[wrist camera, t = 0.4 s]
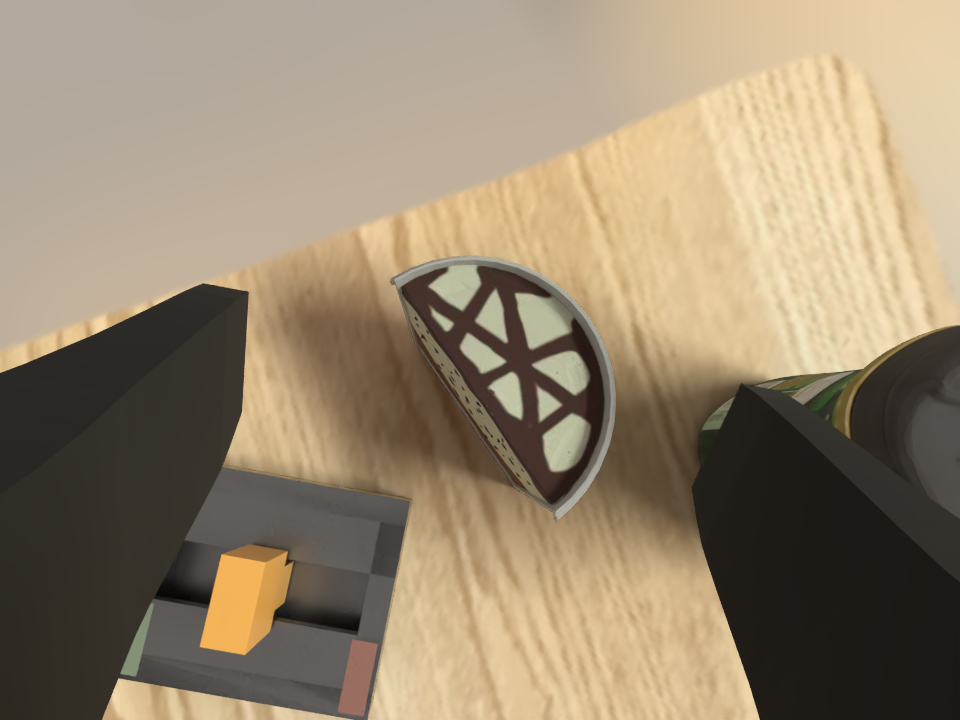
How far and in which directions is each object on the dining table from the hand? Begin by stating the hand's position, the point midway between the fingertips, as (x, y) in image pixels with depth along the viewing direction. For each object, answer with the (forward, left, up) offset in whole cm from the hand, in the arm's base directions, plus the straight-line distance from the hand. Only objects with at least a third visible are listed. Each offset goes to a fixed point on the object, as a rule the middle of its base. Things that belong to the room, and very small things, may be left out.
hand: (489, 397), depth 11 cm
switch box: (-8, +8, -28) cm, 30 cm away
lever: (-8, +8, -28) cm, 30 cm away
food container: (+4, -2, -28) cm, 29 cm away
